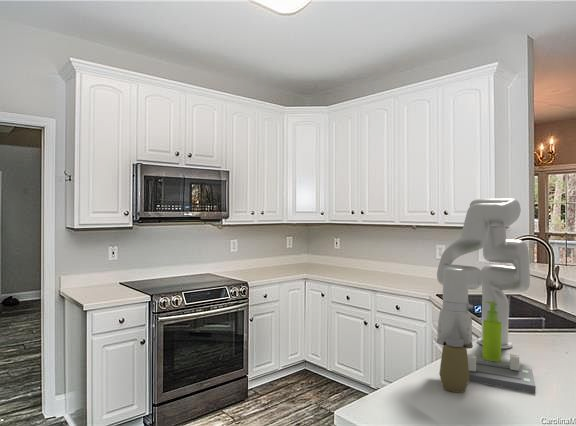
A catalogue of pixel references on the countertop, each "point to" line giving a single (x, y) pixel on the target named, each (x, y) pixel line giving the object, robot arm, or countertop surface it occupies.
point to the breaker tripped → (472, 362)
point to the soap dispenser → (492, 335)
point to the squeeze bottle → (454, 363)
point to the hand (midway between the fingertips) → (453, 364)
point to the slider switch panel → (503, 376)
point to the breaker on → (514, 362)
